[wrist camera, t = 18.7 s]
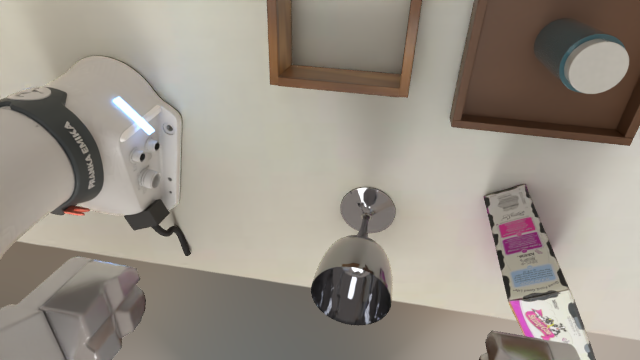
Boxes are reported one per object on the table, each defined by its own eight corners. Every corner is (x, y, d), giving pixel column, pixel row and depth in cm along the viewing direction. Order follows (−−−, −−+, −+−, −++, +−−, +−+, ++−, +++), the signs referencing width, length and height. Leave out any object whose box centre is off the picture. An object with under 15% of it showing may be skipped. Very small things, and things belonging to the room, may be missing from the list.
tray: (618, 135, 40) (630, 146, 38) (449, 118, 42) (451, 127, 40) (705, -56, 31) (727, -56, 29) (487, -62, 34) (492, -63, 32)
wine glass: (348, 175, 49) (324, 254, 36) (408, 198, 49) (405, 285, 36) (329, 222, 53) (301, 307, 40) (384, 243, 53) (374, 335, 40)
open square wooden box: (408, 82, 42) (407, 98, 37) (284, 71, 44) (269, 85, 39) (431, -71, 34) (432, -74, 30) (282, -74, 37) (263, -77, 32)
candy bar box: (479, 195, 46) (505, 300, 33) (524, 181, 44) (572, 287, 30) (509, 264, 50) (543, 383, 36) (552, 254, 48) (605, 377, 34)
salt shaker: (577, 69, 37) (619, 100, 29) (527, 65, 38) (555, 95, 30) (595, 19, 35) (645, 39, 27) (542, 16, 35) (576, 35, 28)
